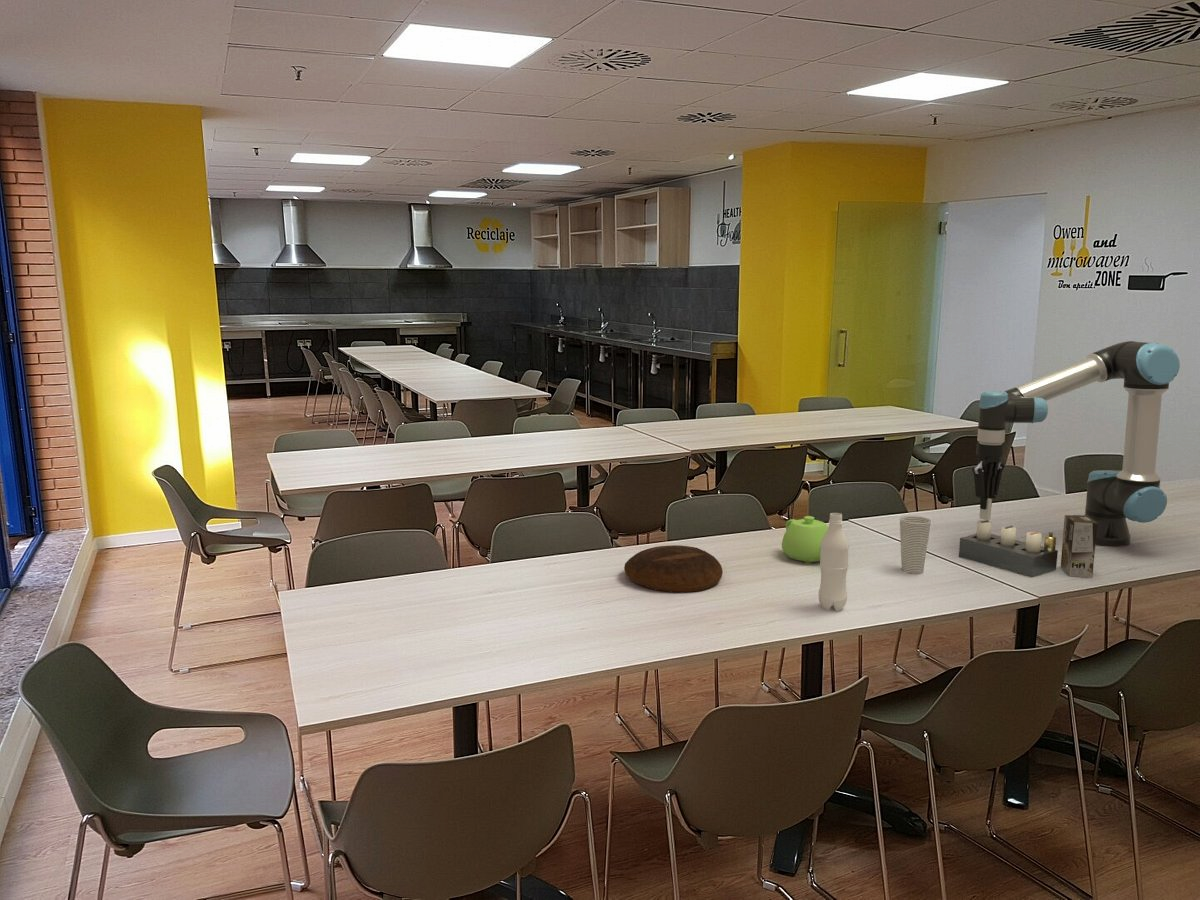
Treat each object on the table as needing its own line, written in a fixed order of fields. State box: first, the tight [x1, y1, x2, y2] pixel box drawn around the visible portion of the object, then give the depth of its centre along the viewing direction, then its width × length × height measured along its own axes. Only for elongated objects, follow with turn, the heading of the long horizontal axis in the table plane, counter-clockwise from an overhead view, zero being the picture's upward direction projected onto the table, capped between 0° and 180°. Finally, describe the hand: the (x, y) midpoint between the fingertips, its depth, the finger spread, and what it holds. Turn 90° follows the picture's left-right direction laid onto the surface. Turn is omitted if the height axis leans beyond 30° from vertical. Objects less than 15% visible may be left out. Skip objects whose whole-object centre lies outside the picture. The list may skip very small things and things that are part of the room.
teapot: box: [781, 515, 829, 565], centre depth 273 cm, size 22×15×13 cm
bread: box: [623, 544, 724, 593], centre depth 257 cm, size 28×27×9 cm
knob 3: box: [1025, 531, 1043, 554], centre depth 260 cm, size 4×4×7 cm
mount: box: [958, 533, 1059, 578], centre depth 268 cm, size 12×24×6 cm, turn 33°
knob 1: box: [976, 519, 993, 541], centre depth 273 cm, size 4×4×7 cm
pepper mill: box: [1043, 531, 1057, 552], centre depth 260 cm, size 3×3×5 cm
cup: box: [899, 515, 931, 575], centre depth 260 cm, size 8×8×16 cm
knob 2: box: [1000, 525, 1017, 547], centre depth 267 cm, size 4×4×7 cm
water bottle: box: [818, 512, 850, 611], centre depth 231 cm, size 7×7×25 cm
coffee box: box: [1060, 514, 1098, 578], centre depth 258 cm, size 9×6×16 cm
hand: (984, 519), depth 273 cm, fingers closed
